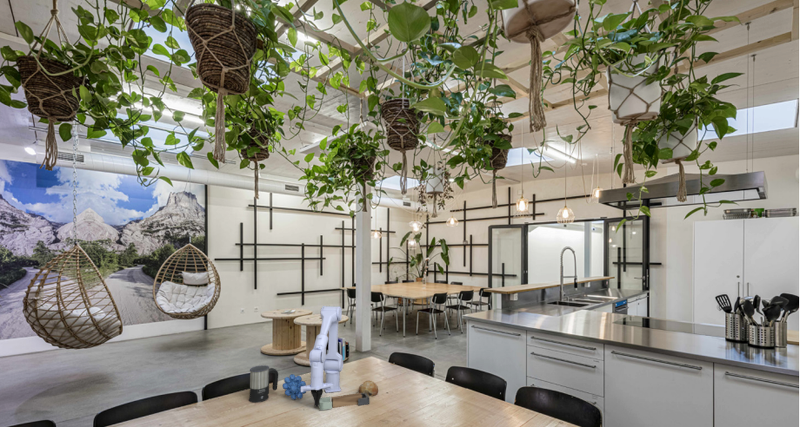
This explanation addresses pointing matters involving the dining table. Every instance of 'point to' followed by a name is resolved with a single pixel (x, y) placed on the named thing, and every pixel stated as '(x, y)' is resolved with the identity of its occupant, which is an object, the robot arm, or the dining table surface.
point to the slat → (345, 400)
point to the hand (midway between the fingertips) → (316, 406)
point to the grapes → (294, 386)
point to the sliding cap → (325, 403)
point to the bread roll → (369, 388)
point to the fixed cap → (363, 399)
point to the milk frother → (261, 383)
